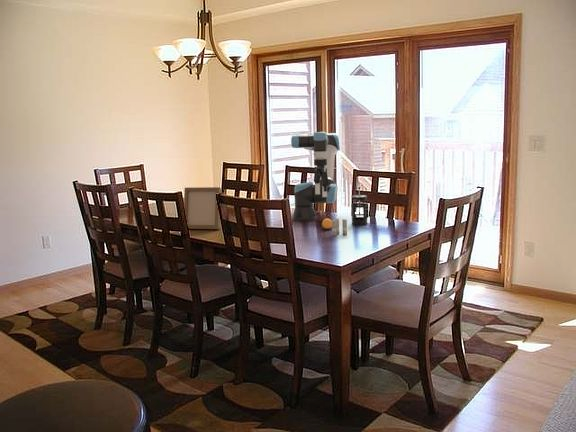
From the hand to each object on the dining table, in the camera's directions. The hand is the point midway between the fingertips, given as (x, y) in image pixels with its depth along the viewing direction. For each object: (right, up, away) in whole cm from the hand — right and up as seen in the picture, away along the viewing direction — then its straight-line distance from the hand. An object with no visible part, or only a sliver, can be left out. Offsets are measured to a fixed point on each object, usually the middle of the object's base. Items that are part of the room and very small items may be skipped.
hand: (321, 195), depth 328 cm
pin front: (+8, -22, -20) cm, 31 cm away
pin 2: (+12, -22, -23) cm, 34 cm away
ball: (+3, -17, -6) cm, 18 cm away
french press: (+24, -17, +6) cm, 30 cm away
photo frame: (-70, -20, +9) cm, 73 cm away
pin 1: (+6, -23, -24) cm, 34 cm away
